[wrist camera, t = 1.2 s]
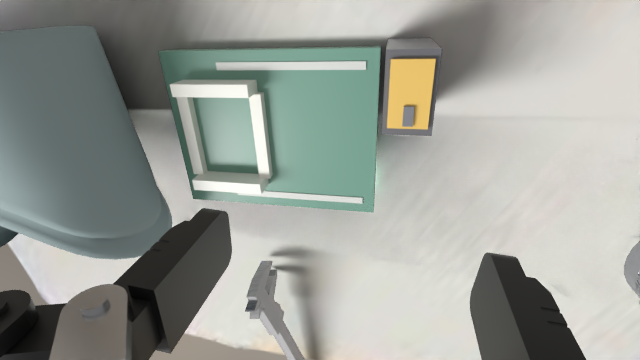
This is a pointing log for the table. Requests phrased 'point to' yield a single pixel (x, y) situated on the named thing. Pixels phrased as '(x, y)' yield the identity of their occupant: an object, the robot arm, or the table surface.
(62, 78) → the pencil case
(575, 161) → the table surface
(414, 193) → the table surface
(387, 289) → the table surface
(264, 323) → the caliper
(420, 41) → the switch
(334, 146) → the board
